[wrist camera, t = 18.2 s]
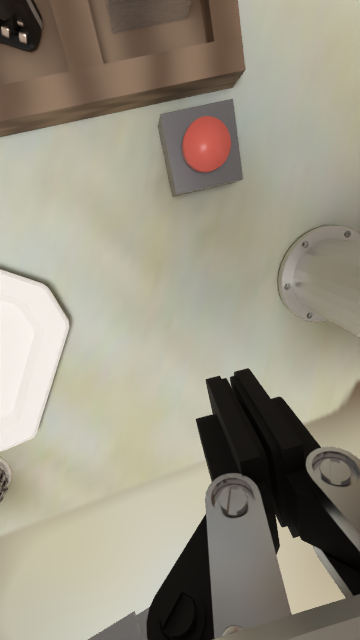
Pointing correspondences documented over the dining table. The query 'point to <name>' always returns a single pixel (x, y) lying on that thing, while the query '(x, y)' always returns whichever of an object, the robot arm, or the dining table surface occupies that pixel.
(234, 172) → the button housing
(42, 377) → the plate
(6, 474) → the decorative candle
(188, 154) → the button
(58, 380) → the dining table surface
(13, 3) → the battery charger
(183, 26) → the wooden sorting tray
